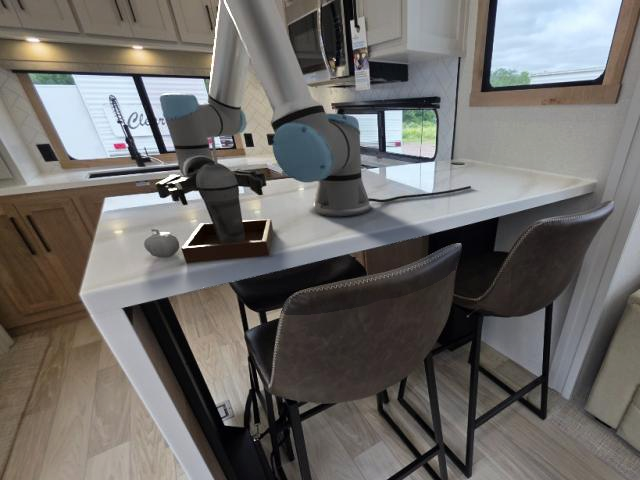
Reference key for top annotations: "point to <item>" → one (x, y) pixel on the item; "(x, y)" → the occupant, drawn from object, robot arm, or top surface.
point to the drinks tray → (209, 247)
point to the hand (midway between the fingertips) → (223, 192)
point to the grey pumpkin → (161, 244)
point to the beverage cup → (221, 199)
